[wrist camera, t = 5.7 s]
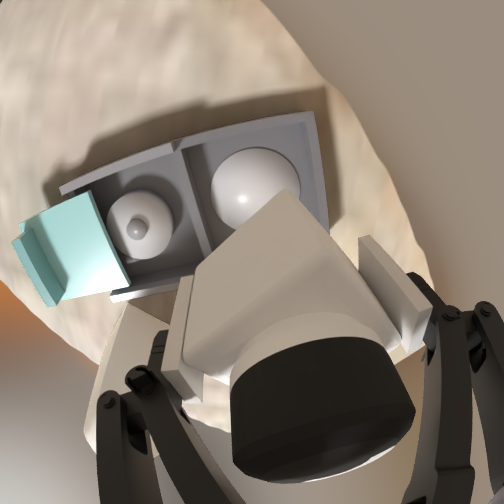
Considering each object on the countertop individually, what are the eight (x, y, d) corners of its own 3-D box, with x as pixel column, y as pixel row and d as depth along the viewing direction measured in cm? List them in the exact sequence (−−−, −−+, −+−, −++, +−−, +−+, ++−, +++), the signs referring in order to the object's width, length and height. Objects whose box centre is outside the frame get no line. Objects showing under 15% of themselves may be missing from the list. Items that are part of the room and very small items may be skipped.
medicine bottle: (193, 267, 16) (165, 478, 6) (284, 184, 14) (410, 386, 4) (271, 326, 19) (302, 493, 8) (354, 264, 17) (450, 426, 6)
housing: (78, 176, 28) (58, 187, 24) (304, 110, 27) (317, 111, 23) (123, 281, 36) (113, 302, 31) (322, 237, 35) (334, 255, 30)
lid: (21, 222, 26) (5, 234, 22) (90, 189, 25) (74, 201, 22) (60, 297, 32) (49, 314, 28) (130, 282, 31) (122, 301, 28)
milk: (127, 302, 37) (75, 466, 15) (192, 336, 41) (181, 496, 19) (106, 342, 42) (67, 473, 19) (162, 369, 46) (146, 499, 23)
